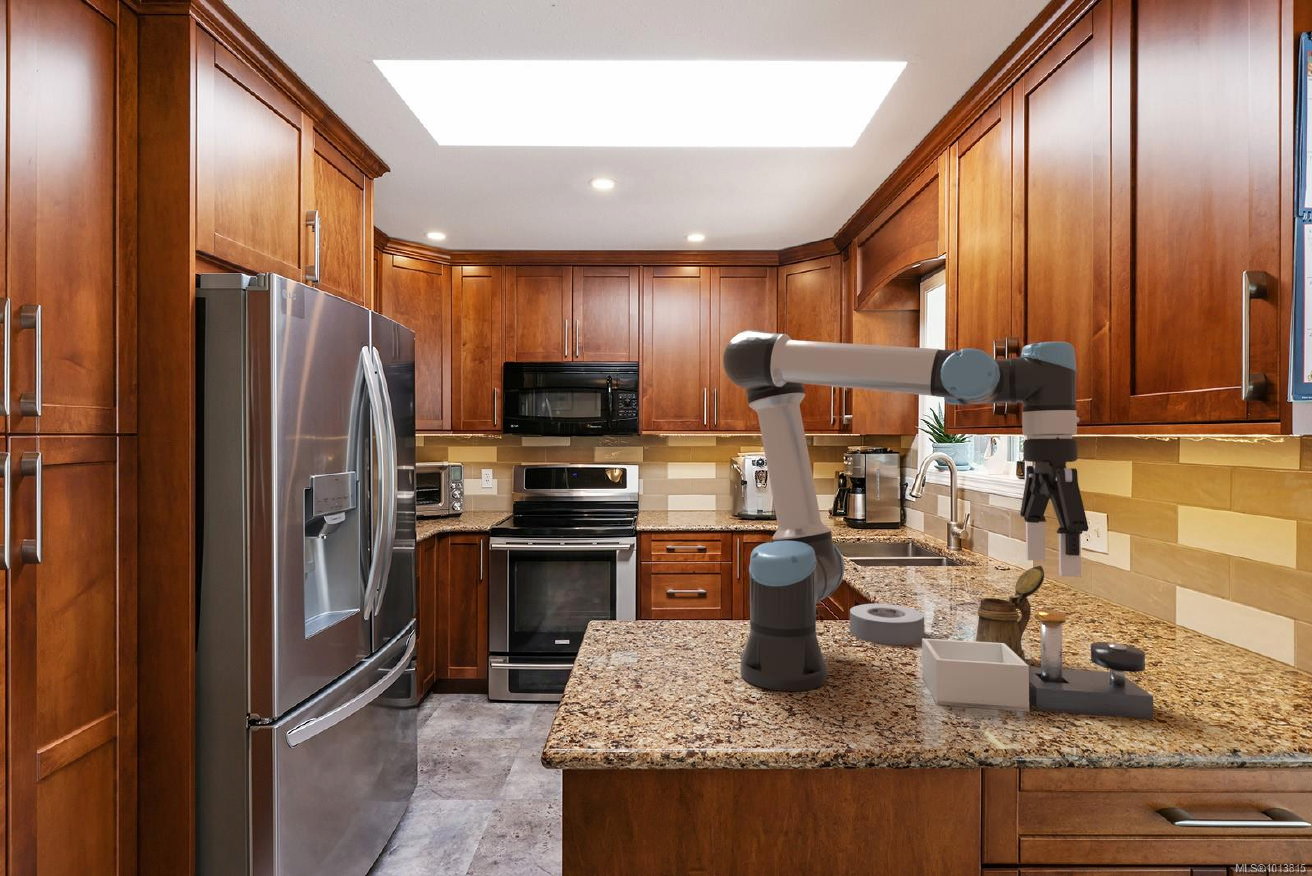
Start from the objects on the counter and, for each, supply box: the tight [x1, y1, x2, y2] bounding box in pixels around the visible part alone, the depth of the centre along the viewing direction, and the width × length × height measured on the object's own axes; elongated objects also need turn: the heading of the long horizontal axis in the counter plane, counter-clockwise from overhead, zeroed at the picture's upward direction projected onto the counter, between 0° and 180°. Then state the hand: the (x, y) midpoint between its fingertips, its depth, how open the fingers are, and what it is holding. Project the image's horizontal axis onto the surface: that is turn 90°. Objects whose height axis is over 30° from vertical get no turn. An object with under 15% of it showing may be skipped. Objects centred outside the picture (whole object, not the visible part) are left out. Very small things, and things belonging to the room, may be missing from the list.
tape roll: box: [849, 603, 925, 646], centre depth 138 cm, size 15×15×5 cm
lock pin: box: [1036, 608, 1067, 683], centre depth 102 cm, size 4×4×14 cm
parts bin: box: [921, 638, 1030, 712], centre depth 105 cm, size 13×11×7 cm
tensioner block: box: [1029, 641, 1154, 720], centre depth 101 cm, size 17×10×10 cm, turn 78°
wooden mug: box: [975, 565, 1045, 664], centre depth 122 cm, size 9×14×18 cm, turn 93°
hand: (1051, 567), depth 102 cm, fingers open, 13 cm apart
